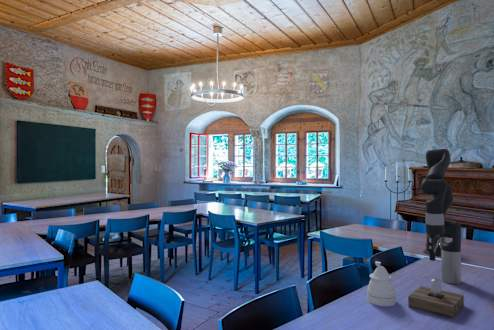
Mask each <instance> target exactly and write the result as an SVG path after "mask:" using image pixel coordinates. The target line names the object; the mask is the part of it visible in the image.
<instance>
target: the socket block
mask: <svg viewBox="0 0 494 330" xmlns="http://www.w3.org/2000/svg"><path fill="white" fill-rule="evenodd" d="M407 297H408V299H407V301H408V308H411V309H415V310H419V311H422V312H426V313H429V314H430V313H431V314H433V315H437V316H441V317H445V318H448V319H453V320H454V319H455V317H457V315H458V313H459V312H460V311H461V310H462V309H463V307H465V306H464V305H465V303H464V301H465V297H464V294H461V293H457V292H451V291H447V290H443V289H441V299H439V298H435V297H431V287H430V286H424V285H421V286H419V287H418V288H416V289H415V290H414V291H412V293H410V294H409V295H407Z"/></svg>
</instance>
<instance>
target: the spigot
mask: <svg viewBox="0 0 494 330" xmlns="http://www.w3.org/2000/svg"><path fill="white" fill-rule="evenodd" d="M441 284H442V279H440V278H434V277H433V278H430V288H431V297H435V298H439V299H441V290H442V285H441Z"/></svg>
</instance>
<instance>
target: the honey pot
mask: <svg viewBox="0 0 494 330" xmlns="http://www.w3.org/2000/svg"><path fill="white" fill-rule="evenodd" d="M381 263H382V262H381V261H374V264H375V266H376V268H375V269H374V270H373V273H370V274H369V278H370V280H369V282H368V286H367V287H366V292H367V293H366V295H367V296H366V297H367V299H366V300H367V301H368V302H369V303H370V304H372V305H374V306H381V307H392V306H395V305H396V304H397V291H396V289H395V286H394V283H393V280H392V278H393V277H392V275H390V274H389V272H388V271H387V269H386V268H385V267H384V266H383V265H381Z"/></svg>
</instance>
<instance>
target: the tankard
mask: <svg viewBox="0 0 494 330" xmlns="http://www.w3.org/2000/svg"><path fill="white" fill-rule="evenodd" d="M425 234H426V237H425V238H426V239H425V240H426V241H425V249H424V250H423V251H422V253H423V254H424V255H427V256H429V251H427V238H429V237H430V234H428V233H426V232H425ZM442 241H443V244H444V243H448V242H447V241H446V237H442ZM431 249H432V248H431ZM441 257H442V255H441Z"/></svg>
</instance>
